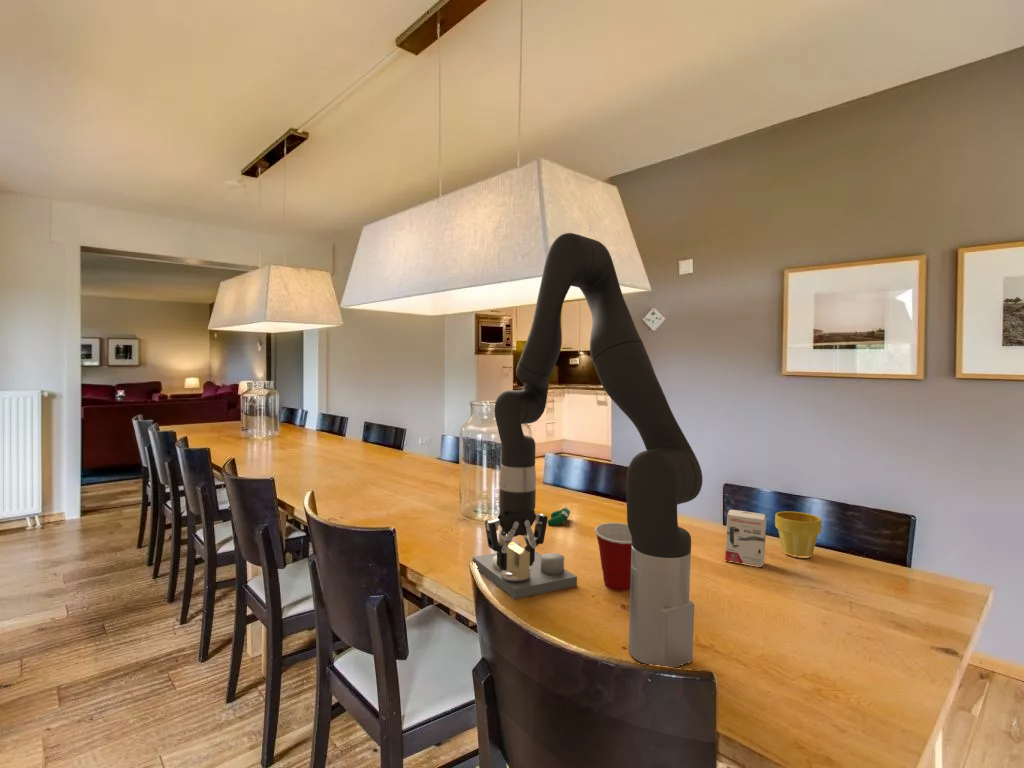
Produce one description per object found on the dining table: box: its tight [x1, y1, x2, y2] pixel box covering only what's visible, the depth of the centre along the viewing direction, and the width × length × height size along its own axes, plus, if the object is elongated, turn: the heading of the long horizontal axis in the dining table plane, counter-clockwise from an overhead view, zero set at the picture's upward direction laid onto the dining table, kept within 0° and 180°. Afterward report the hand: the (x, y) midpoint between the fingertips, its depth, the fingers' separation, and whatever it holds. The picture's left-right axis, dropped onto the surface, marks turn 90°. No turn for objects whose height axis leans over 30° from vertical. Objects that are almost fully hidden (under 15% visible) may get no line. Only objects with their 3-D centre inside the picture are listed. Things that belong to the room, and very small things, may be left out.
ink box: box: [724, 509, 767, 567], centre depth 130 cm, size 9×5×12 cm, turn 62°
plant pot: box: [774, 510, 822, 556], centre depth 136 cm, size 10×10×10 cm
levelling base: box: [472, 540, 578, 600], centre depth 119 cm, size 20×15×5 cm
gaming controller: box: [547, 505, 571, 526], centre depth 161 cm, size 9×4×6 cm
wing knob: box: [501, 541, 530, 583], centre depth 112 cm, size 7×6×6 cm
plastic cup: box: [594, 522, 632, 592], centre depth 114 cm, size 11×11×12 cm
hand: (515, 566), depth 112 cm, fingers open, 5 cm apart
